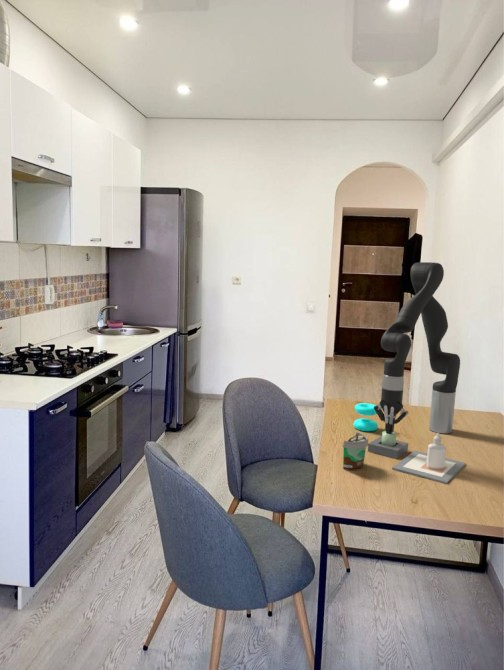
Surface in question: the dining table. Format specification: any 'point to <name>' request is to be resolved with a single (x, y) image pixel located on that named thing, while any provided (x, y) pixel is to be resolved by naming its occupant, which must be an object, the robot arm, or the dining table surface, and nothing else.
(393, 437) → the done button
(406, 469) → the sketch board
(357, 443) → the food container
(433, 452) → the eye dropper bottle
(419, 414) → the dining table surface
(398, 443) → the button housing
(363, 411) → the donuts
